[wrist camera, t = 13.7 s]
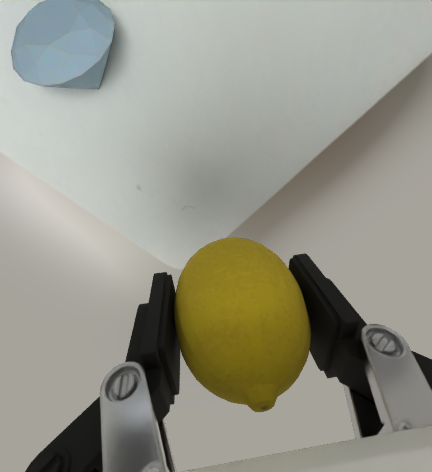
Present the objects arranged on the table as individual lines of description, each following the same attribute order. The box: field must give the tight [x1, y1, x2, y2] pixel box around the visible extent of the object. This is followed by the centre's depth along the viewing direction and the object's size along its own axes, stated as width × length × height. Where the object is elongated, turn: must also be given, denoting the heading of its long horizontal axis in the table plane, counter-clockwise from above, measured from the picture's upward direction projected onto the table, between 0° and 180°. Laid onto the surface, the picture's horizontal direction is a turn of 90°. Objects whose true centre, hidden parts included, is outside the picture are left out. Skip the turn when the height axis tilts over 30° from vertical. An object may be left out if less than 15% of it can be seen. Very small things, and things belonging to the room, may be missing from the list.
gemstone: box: [11, 0, 115, 89], centre depth 17 cm, size 8×8×5 cm
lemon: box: [174, 238, 311, 412], centre depth 10 cm, size 6×6×8 cm
